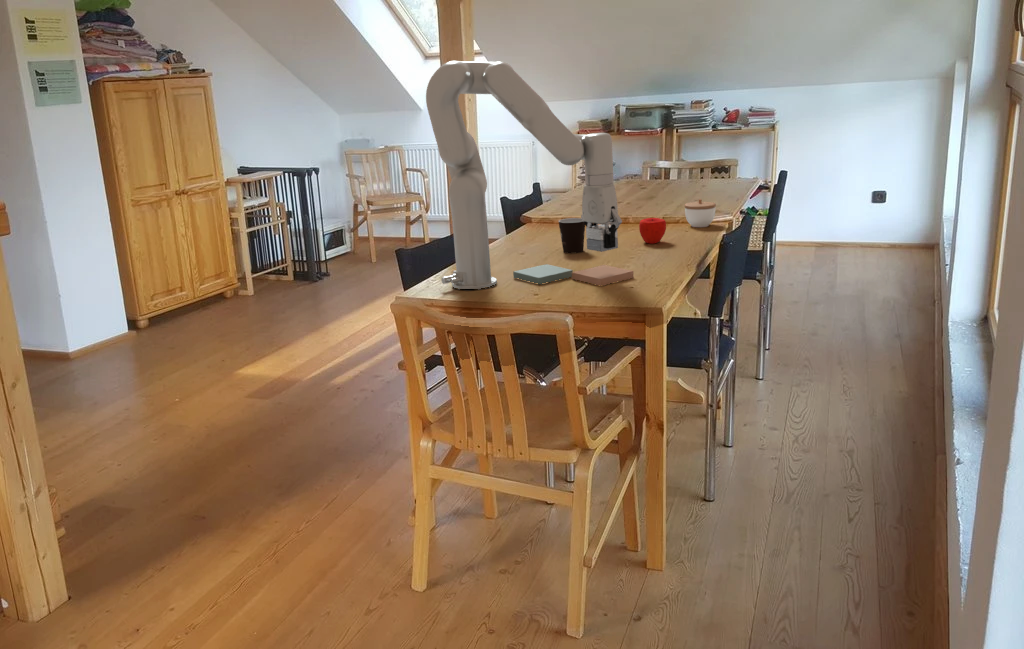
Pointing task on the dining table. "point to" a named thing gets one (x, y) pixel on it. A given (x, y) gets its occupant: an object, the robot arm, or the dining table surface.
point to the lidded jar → (700, 213)
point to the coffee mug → (572, 234)
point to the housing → (598, 238)
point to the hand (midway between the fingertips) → (602, 245)
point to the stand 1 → (543, 273)
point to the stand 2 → (602, 275)
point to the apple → (652, 229)
